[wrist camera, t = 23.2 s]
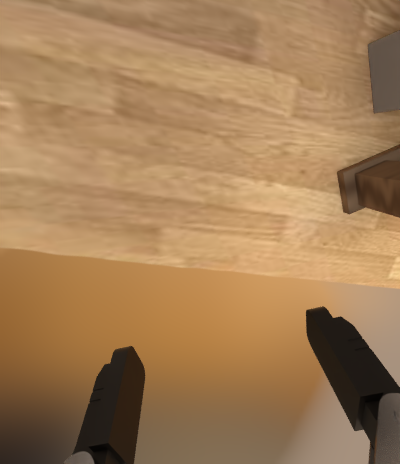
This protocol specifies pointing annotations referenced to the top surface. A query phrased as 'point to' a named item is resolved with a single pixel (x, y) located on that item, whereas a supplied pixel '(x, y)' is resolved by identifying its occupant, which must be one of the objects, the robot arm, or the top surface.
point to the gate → (372, 184)
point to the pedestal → (385, 72)
